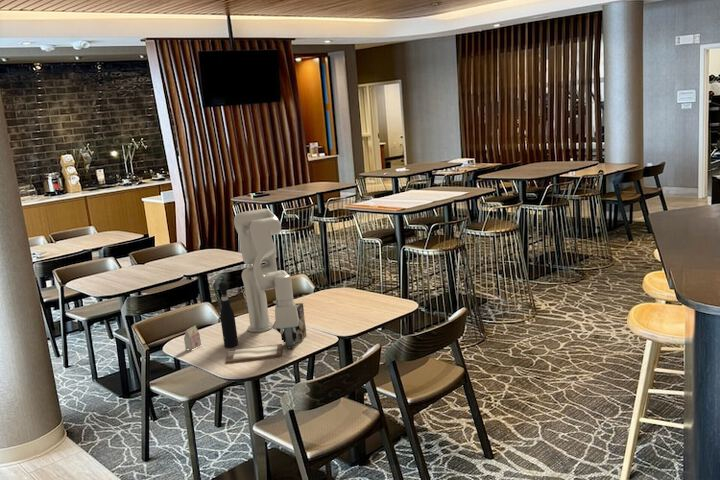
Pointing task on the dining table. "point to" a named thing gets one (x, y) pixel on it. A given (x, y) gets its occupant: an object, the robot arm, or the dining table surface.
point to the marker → (289, 337)
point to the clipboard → (254, 353)
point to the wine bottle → (227, 319)
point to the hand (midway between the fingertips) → (289, 340)
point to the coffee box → (302, 330)
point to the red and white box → (192, 338)
